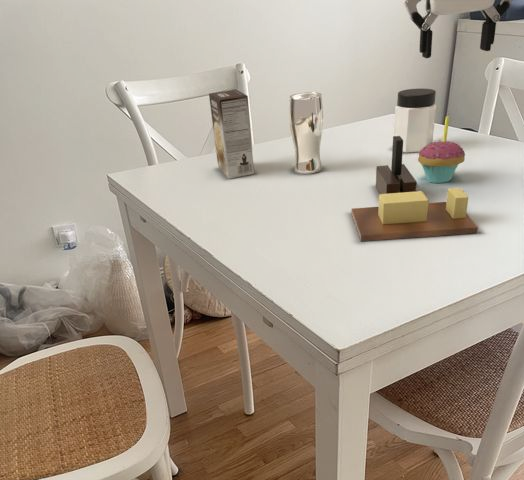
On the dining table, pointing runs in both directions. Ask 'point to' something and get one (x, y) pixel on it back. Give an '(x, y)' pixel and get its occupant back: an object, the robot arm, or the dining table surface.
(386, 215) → the butter
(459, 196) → the butter slice
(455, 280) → the dining table surface
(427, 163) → the cupcake
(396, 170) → the knife
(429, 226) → the board
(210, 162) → the dining table surface
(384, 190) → the knife block
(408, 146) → the jar
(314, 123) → the beer glass
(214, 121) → the coffee box
